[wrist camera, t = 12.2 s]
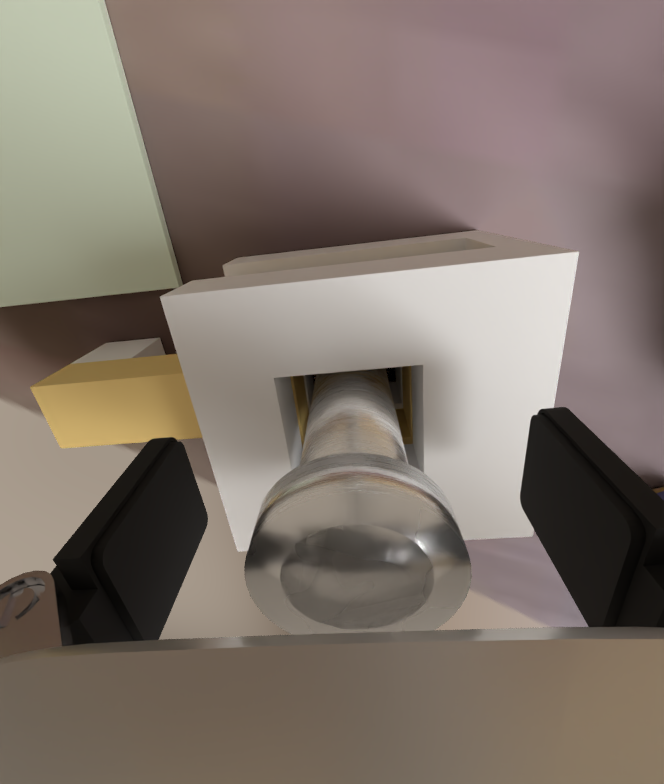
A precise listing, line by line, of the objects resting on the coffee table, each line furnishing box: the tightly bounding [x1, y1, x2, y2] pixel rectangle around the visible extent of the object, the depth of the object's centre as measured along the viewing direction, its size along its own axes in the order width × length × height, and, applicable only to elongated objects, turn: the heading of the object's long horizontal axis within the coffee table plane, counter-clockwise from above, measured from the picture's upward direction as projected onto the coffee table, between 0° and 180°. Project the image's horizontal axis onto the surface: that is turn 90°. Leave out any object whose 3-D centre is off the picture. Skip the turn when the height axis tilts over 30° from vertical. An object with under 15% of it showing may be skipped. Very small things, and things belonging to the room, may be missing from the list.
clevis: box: [30, 230, 579, 551], centre depth 17 cm, size 10×19×8 cm, turn 96°
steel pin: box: [245, 368, 472, 635], centre depth 14 cm, size 4×4×14 cm
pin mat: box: [0, 0, 183, 307], centre depth 17 cm, size 12×12×1 cm
